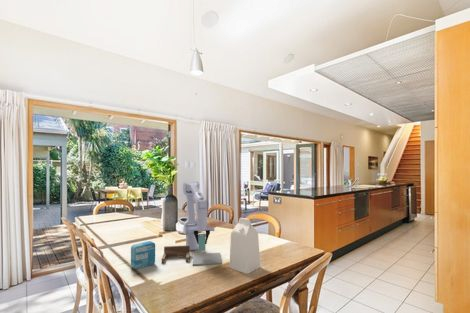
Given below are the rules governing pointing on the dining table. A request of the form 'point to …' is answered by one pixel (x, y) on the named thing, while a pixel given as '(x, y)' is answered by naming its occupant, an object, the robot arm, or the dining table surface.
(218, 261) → the board
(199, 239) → the block
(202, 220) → the robot arm
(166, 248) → the bay
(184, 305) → the dining table surface
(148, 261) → the data package
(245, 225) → the milk
